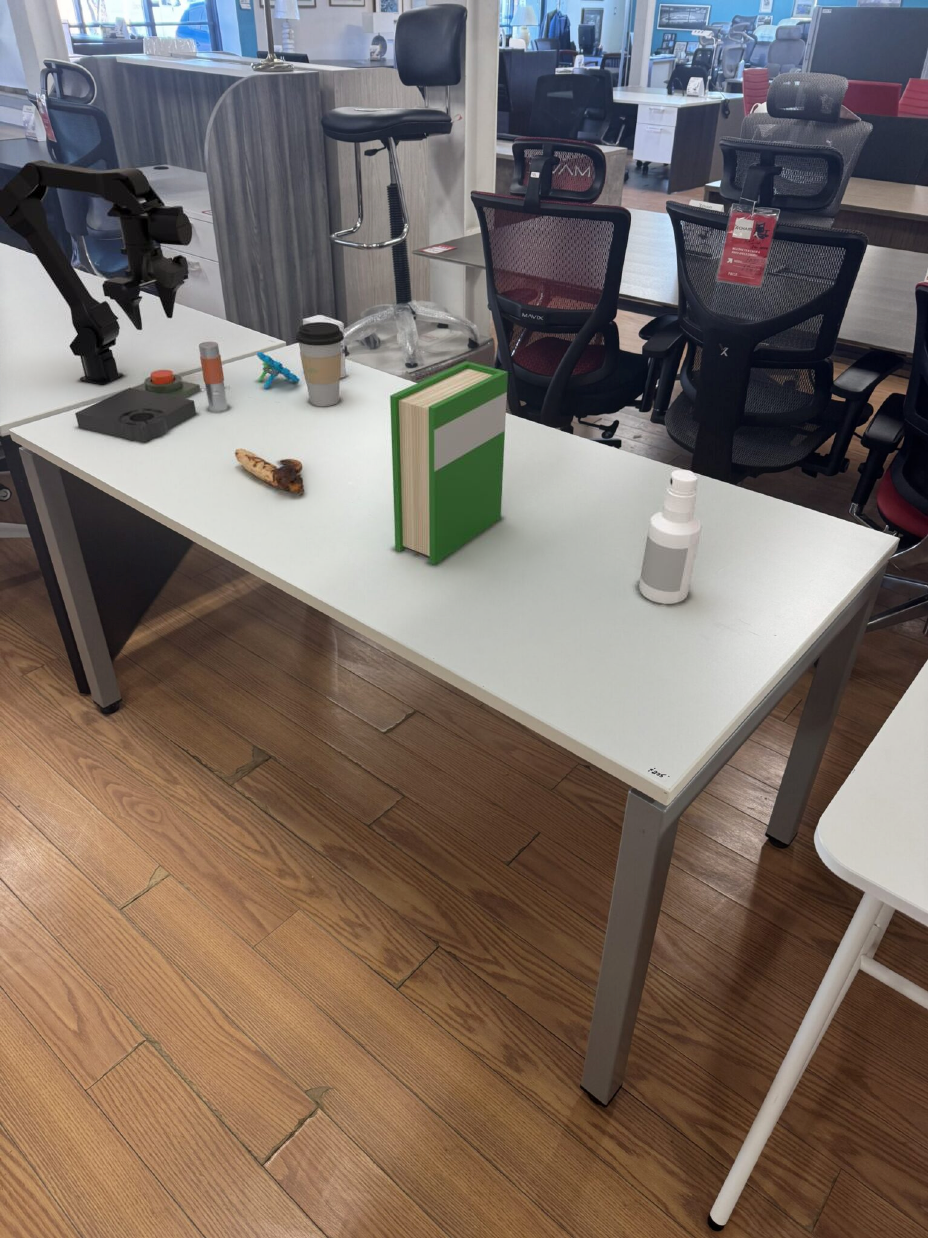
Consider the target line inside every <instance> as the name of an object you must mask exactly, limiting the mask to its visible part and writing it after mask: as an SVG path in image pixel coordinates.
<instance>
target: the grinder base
mask: <svg viewBox="0 0 928 1238" xmlns="http://www.w3.org/2000/svg"><path fill="white" fill-rule="evenodd" d="M195 404H196V403H195V400H194V399H188V398H185V399H184V398H179V397H174V396H169V395H164V394H159V393H154V392H149V391H144V390H139V389H134V387H128V388H126V389H124V390H122V391H119V392H118V393H115V394H113V395H111V396H109V397H107V398H104V399H102V400H101V401H98V402H96V403H94V404H91V405H89V406H87V407H85V408H83V409H80V410H78V411H76V412H75V414H74V415H75V418H76V422H77V426H78V429H83V430H87V431H92V432H95V433H100V434H105V435H109V436H114V437H118V438H123V439H124V440H129V441H133V442H139V443H147V442H149V441H151V440H155V439H159V438H161V437H163V436H164V435H166V434H167V432H169V431H170V430H171V429H173V428H174V427H176V426H178V425H180V424H182V423H184V422H186V421H188V420H189V419H192V418H193V417H195V416H197V411H196V410H197V409H196V405H195Z"/></svg>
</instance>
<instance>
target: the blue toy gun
mask: <svg viewBox="0 0 928 1238" xmlns="http://www.w3.org/2000/svg"><path fill="white" fill-rule="evenodd" d="M256 356H257V358H258V359H259V360H260V361H262V364H261V365H262V366H263V367H262V373H261V375H260V376H259V378H258V381H259V382H262V381H263V380H264V378H265V376H266V375H267V374H268V375H269V377H268V379H267V380H266V381H265V382H264V384H263V386H264V387H265V388H266V389H269V388H270V386H271V384H272V383H273V382H274V379H276V378H278V376H279V375H282V376H284V378H286V379H287V380H291V382H293V383H296V384H298V383H299V382H300V378H299V377H298V376H297V375H296V374H295V373H291V369H288V368H287V367H284V366H283V363H281V362H280V361H278V360H274V359H273V357H271V356H270V355H268V354H265V353H264V352H262V351H257V353H256Z"/></svg>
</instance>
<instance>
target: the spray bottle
mask: <svg viewBox="0 0 928 1238" xmlns="http://www.w3.org/2000/svg"><path fill="white" fill-rule="evenodd" d="M698 481H699V478H698V477H697V476H696V475H695V474H694V472H693V471H692V470H688V469H676V470H673V471H672V472H671V474H670V479H669V483H668V485H667V488H666V490H665V491H666V492H665V496H664V497H665V498H664V502H663V505H662V510H660V511H658V512H656V513H654V514H653V515H652V516H651V518H650V519H649V524H648V529H647V536H646V541H645V549H644V554H643V560H642V566H641V571H640V577H639V584H638V587H639V592H640V594H642V596H643V597H644V598H646V599H648V600H650V601H652V602H654V603H658V604H665V605H671V604H677V603H681V602H683V601H684V600H685V599H686V598H687V597H688V594H689V590H690V586H691V581H692V575H693V571H694V566H695V561H696V558H697V551H698V549H699V548H698V547H699V543H700V537H701V532H702V528H703V527H702V523H701V521H700V520H699V518H697V517H696V516H695V515H694V513H695V504H696V499H697V495H698V491H697V485H698Z"/></svg>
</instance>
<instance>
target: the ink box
mask: <svg viewBox="0 0 928 1238" xmlns="http://www.w3.org/2000/svg"><path fill="white" fill-rule="evenodd" d="M314 322H327V323H333V324H336V325H338V326H339V329H340V331H342V333H343V336H344V337H345V323H343V321H340V320H338V319H335V318H332V317H329V316H326V315H323V314H317V315H314V316H309V317H306V318H302V325H304V324H308V323H314ZM345 344H346V343H345V338H344V339H343V340H342V341H341V376H340V379H343V378H345V377H346V376H347V374H346V373H347V371H346V369H347V368H346V348H345V347H346V345H345Z"/></svg>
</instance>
